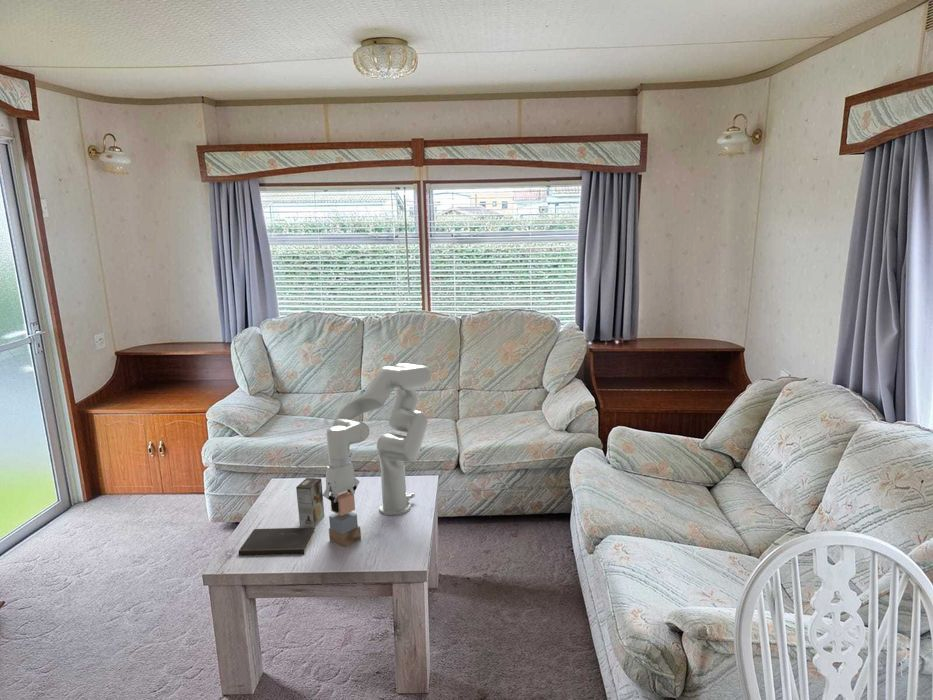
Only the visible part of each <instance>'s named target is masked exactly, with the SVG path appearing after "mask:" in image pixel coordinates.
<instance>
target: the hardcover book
mask: <svg viewBox="0 0 933 700" xmlns="http://www.w3.org/2000/svg"><path fill="white" fill-rule="evenodd" d="M315 530H316V527H315V526H314V527H285V528H284V527H281V528H280V527H279V528H278V527H277V528H276V527H275V528H254V529H253V530H252V532H251V533H250V534H249V536H248V537H247V538H246V539H245V541H244V542H243V544H242V545H241V547H240V548H239V550H238V556H239V557H241V556H243V557H245V556H247V557H248V556H249V557H250V556H282V555H283V556H285V555H286V556H288V555H289V556H291V555H295V556H296V555H305V552H306V549H308V546H309V544H310V542H311V540H312V539H313V537H314V535H315Z"/></svg>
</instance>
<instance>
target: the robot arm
mask: <svg viewBox="0 0 933 700" xmlns="http://www.w3.org/2000/svg"><path fill="white" fill-rule="evenodd" d="M431 380H432V373H431V369H430V368H429V367H428V366H426V365H421V364H414V363H407V362H400V363H395V364H394V365H393V366H392V365H386V366H382V367H381V368H380V369H379V370H378V372H377V373H376V375H375V376H374V378H373V379H372V381H371V382H370V384H369V386H368V387H367V388H366V390H365V391H364V393H363V394H361V395H360V396H357V397H356V398H355V399H353V400H351V401H350V402H348V403H347V404H346V405H345V406H344V407H342V409H341V410H340V412H339V413H338V414H337V416H336V417H335V419H334V421H333V422H332V425H331V426H330V427H329V428H328V429H327V431H326V440H327V456H328V465H327V466H326V472H325V490H324V492H322V493H323V498H326V499H327V500H329V501H330V508H331V507H332V510H333V511H335V512H339V508H338V502H337V498H338V494H339V493H342V492H344V491H347V492H350V493H352V494H354V495H355V491H356V490H357V488H358V486H359V484H360V480H359V479H358V478H356V476H355V468H354V464H353V462H352V461H351V458H352V457H353V453H351V449H350V446H351V445H354V444H359V443H362V442H365V440H367V439H368V437H369V435H370V427H369V425H367V424H366V422H363V421H358V420H355V419H357V418H358V417H359V416H360V415H362V414H366V413H368V412H371V411H372V412H373V411H376V410H378V409H381V408H382V407H383V406H384V405H385V403H386V402H387V400H388V398H389V397H390V395H391V393H392V392H393V391H394V390H396V398H395V401H394V404H393V407H392V409H391V413H390V415H389V419H388V426H389V428H390V429H392V430H393V431H396V432H400V433H405V434H406V435H402V434H398V433H394V432H393V433H392V432H386V433H382V434H381V435H380V436H379V437H378V439H377V442H376V450H377V454H378V458H379V465H380V478H381V479H380V480H381V497H382V503H381V504H380V505H379V506H378V511H379V512H380V513H381V514H383V515H385V516H399V515H400V516H401V515H403V514H405V513H408V512H409V511H410V509H411V503H410V502H409V501H410V500H411V499H413V498H415V496H416V494H415V493H414V492H411V493H408V492H407V486H406V469H405V468H406V467H405V463H404V462H406V463H409V462H413V461H415V460H416V458H417V457H418V455H419V453H420V451H421V448H422V445H423V441H424V437H425V434H426V432H427V428H428V418H427V415H426V414H425V413H424V412H423V411H422V410H421V411H420V410H417V409H416V406H417V402H418V393H417V390H416V389H421V388H423V387H426V386H428V384H429V383H430V381H431ZM333 497H334V498H333Z"/></svg>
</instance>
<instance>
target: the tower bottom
mask: <svg viewBox="0 0 933 700" xmlns="http://www.w3.org/2000/svg"><path fill="white" fill-rule="evenodd" d="M328 535H329V542H331V543H333V544H336V545H337V546H339V547H341V548H343V549H344V548H346V547H348V546H350V545H352V544H354V543H356V542H358V541H359V540H361V539H362V533H361V526H359V525H358V527H357V528H355V529H353V530H351V531H349V532H347V533H345V534H343V535H342V534H340V533H338V532H336V531H333V530H331V529H330V527H329V528H328Z"/></svg>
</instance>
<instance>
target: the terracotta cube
mask: <svg viewBox="0 0 933 700" xmlns="http://www.w3.org/2000/svg"><path fill="white" fill-rule="evenodd" d="M333 498H334V497H333ZM337 502H338V508H339V512H335V511H333V510H332V507H331V506H330V511H331V512H333V514H335V513H337V514H339V515H341V516H343V515H345V514H347V513H349V512H354V511H356V504H355V494H352V493H350V492H347V490H346V491H344V492H342V493H339V494H338V498H337Z"/></svg>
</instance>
